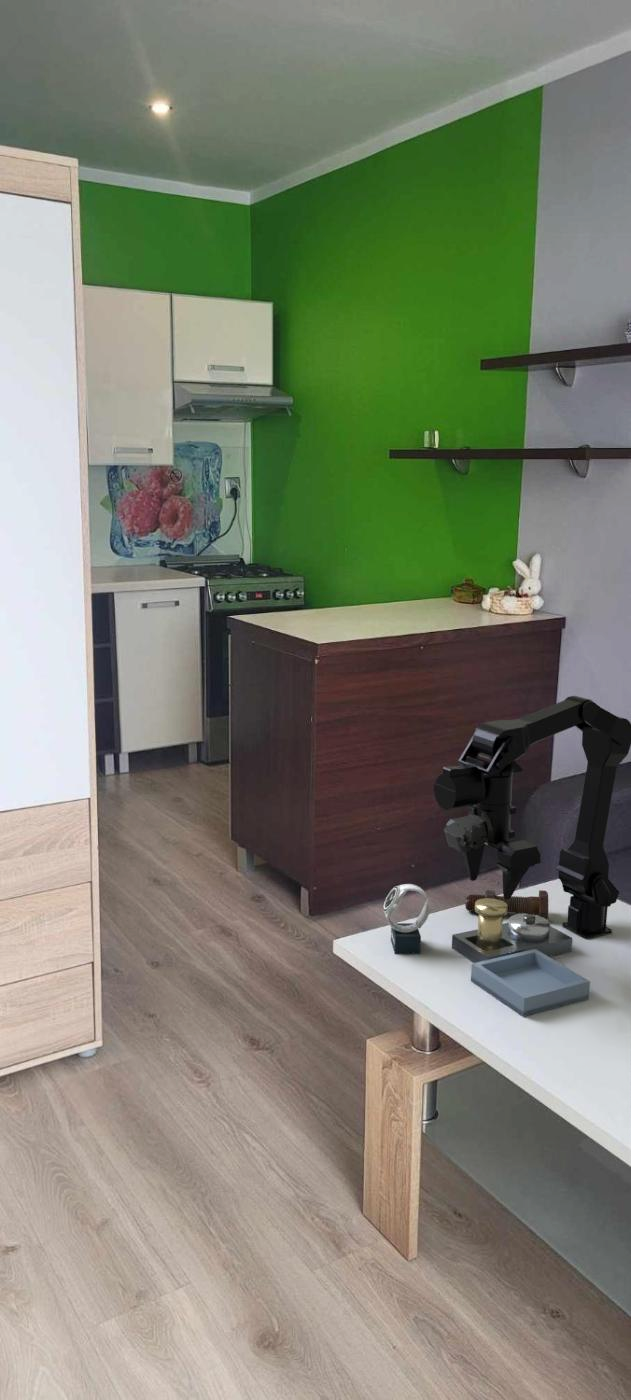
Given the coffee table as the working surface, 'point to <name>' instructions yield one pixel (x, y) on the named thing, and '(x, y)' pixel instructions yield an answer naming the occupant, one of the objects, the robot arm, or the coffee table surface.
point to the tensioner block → (516, 939)
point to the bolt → (516, 903)
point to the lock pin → (490, 923)
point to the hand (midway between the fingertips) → (489, 889)
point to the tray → (530, 982)
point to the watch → (405, 934)
